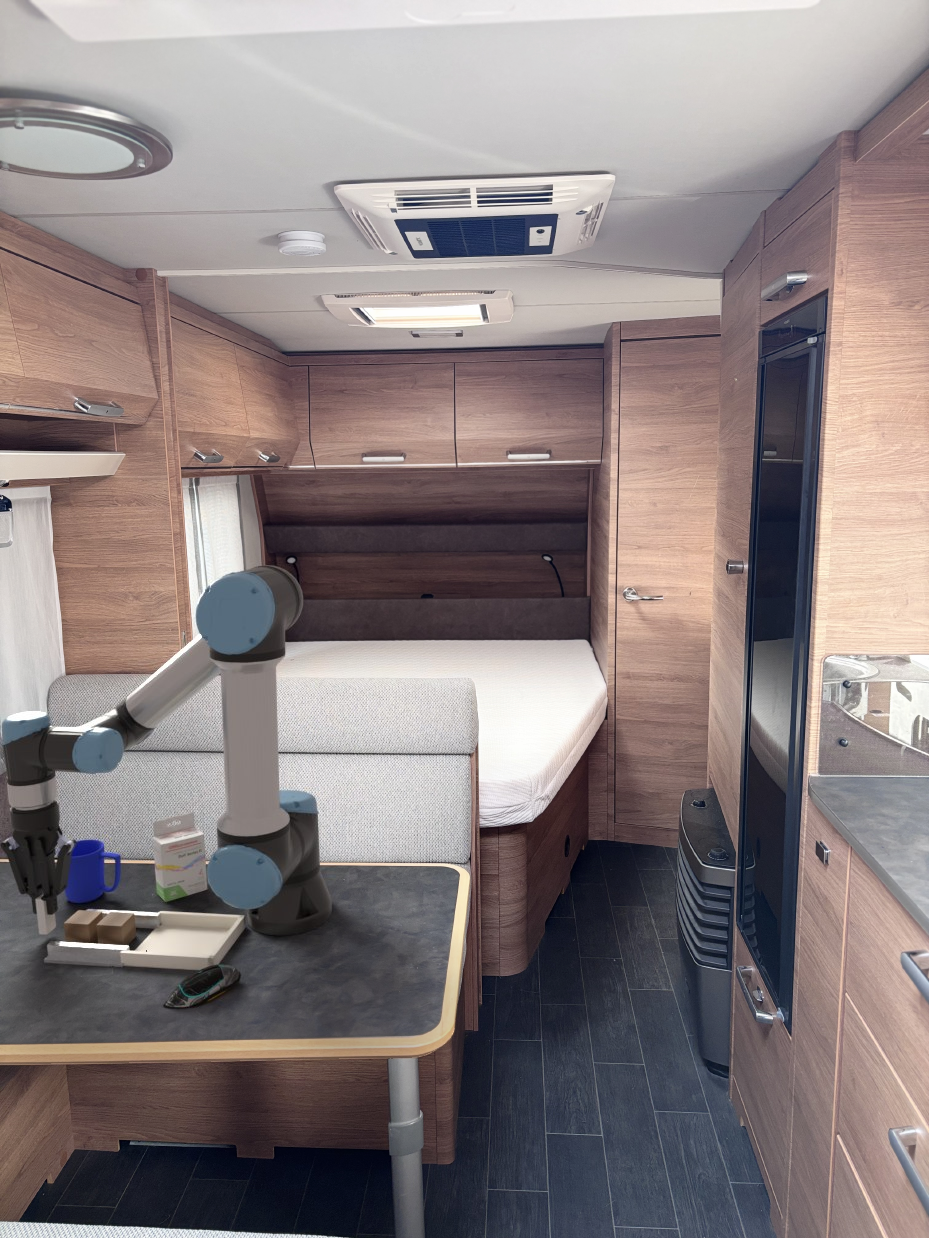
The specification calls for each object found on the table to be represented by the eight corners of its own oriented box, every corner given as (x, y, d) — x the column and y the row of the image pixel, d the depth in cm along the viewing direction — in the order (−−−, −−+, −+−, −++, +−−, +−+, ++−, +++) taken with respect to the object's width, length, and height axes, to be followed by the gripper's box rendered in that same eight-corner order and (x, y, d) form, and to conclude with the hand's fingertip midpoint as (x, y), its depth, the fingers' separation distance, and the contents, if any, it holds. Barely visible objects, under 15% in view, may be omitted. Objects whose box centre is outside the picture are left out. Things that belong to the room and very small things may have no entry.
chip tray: (245, 927, 158) (245, 915, 157) (213, 971, 144) (212, 958, 144) (161, 923, 160) (160, 910, 159) (121, 965, 146) (120, 952, 146)
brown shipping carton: (104, 935, 156) (102, 911, 156) (90, 948, 152) (88, 924, 151) (80, 933, 157) (78, 910, 156) (66, 947, 153) (63, 922, 152)
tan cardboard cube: (136, 936, 156) (134, 913, 155) (123, 950, 151) (121, 926, 150) (112, 935, 156) (110, 911, 155) (98, 949, 152) (96, 924, 151)
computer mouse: (158, 999, 137) (156, 974, 137) (234, 973, 144) (233, 950, 143) (169, 1019, 132) (167, 993, 131) (247, 992, 139) (246, 967, 138)
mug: (110, 910, 165) (105, 860, 163) (52, 905, 167) (47, 855, 166) (135, 890, 173) (130, 841, 171) (79, 885, 175) (75, 837, 174)
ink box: (164, 903, 167) (158, 829, 165) (156, 893, 171) (150, 821, 169) (209, 890, 172) (204, 818, 170) (199, 880, 176) (194, 810, 174)
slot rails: (164, 922, 160) (163, 909, 160) (122, 967, 146) (121, 953, 145) (92, 918, 162) (91, 905, 162) (44, 962, 148) (42, 948, 147)
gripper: (81, 795, 154) (94, 921, 158) (12, 793, 156) (26, 917, 160) (56, 811, 147) (70, 943, 151) (-16, 809, 148) (-1, 939, 152)
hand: (47, 930), depth 155 cm, fingers closed
